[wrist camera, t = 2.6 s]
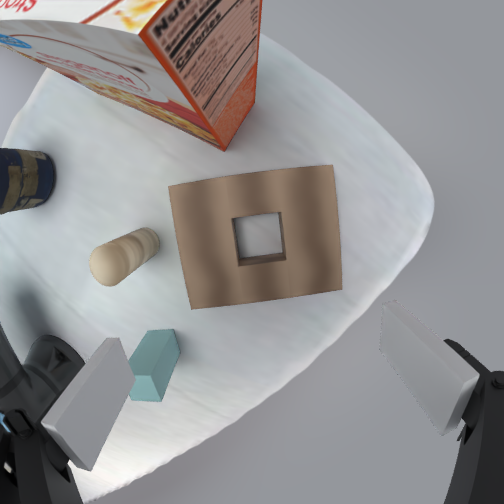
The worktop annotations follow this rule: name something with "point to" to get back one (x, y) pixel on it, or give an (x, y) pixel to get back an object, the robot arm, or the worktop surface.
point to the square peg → (153, 365)
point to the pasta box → (149, 55)
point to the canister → (24, 179)
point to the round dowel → (122, 256)
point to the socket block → (266, 266)
